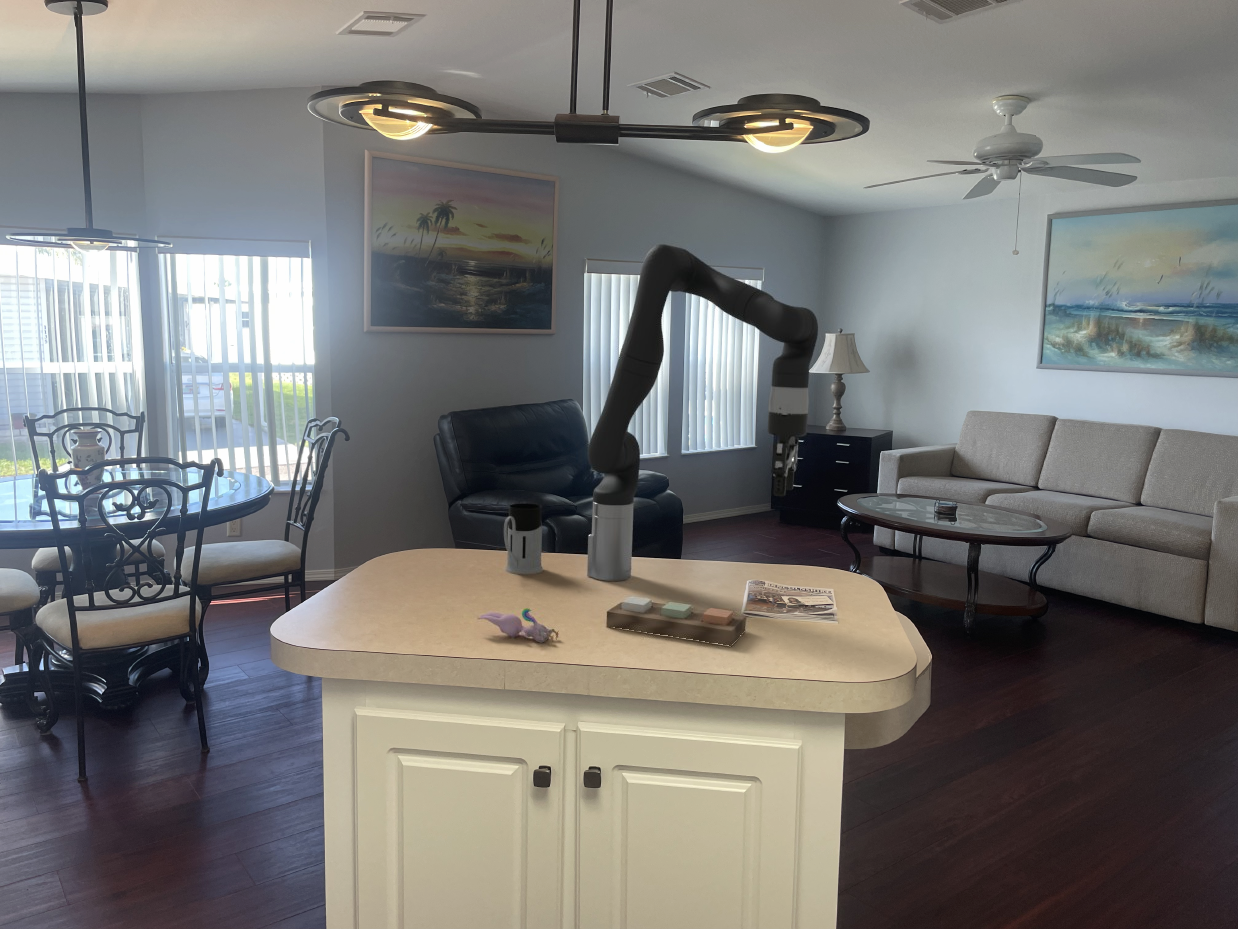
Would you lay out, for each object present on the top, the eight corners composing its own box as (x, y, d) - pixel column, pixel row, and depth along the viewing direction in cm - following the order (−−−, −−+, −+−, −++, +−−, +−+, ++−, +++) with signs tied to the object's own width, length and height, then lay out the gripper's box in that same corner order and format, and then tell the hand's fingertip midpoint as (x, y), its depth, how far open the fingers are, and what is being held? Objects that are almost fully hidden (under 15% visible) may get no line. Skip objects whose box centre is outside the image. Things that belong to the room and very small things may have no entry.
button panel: (606, 627, 168) (606, 611, 167) (626, 613, 177) (626, 598, 176) (730, 647, 159) (731, 630, 158) (745, 631, 168) (746, 616, 167)
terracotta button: (702, 628, 163) (703, 613, 163) (709, 622, 167) (710, 607, 167) (725, 632, 162) (726, 617, 161) (732, 625, 166) (733, 611, 165)
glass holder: (549, 567, 211) (550, 505, 209) (521, 581, 198) (523, 514, 196) (516, 563, 214) (517, 501, 212) (486, 576, 201) (487, 510, 199)
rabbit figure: (559, 644, 161) (485, 621, 165) (565, 613, 160) (490, 590, 164) (546, 655, 155) (469, 630, 159) (553, 623, 154) (475, 599, 158)
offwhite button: (621, 616, 169) (621, 601, 169) (629, 610, 173) (630, 596, 173) (642, 619, 168) (643, 605, 167) (651, 613, 172) (651, 599, 171)
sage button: (661, 622, 166) (661, 607, 166) (668, 616, 170) (669, 601, 170) (683, 625, 165) (684, 611, 164) (691, 619, 169) (691, 605, 168)
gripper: (776, 407, 182) (771, 486, 184) (761, 411, 169) (756, 496, 171) (813, 409, 180) (808, 489, 182) (801, 413, 166) (796, 500, 168)
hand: (783, 492), depth 176 cm, fingers open, 8 cm apart
